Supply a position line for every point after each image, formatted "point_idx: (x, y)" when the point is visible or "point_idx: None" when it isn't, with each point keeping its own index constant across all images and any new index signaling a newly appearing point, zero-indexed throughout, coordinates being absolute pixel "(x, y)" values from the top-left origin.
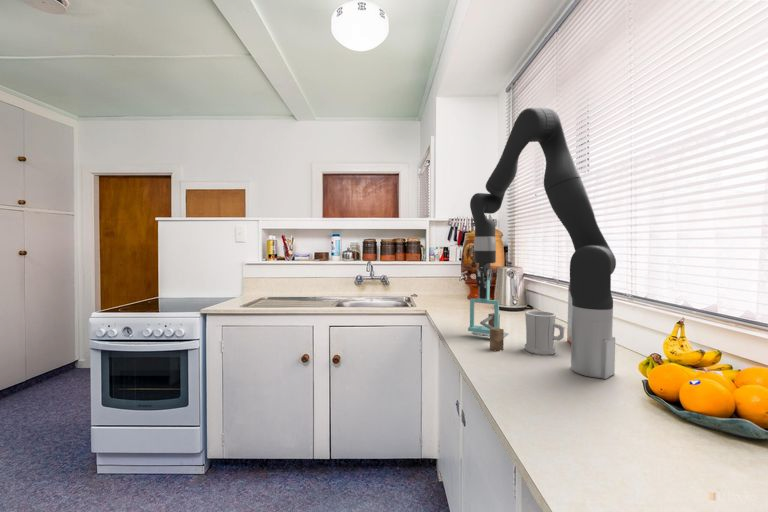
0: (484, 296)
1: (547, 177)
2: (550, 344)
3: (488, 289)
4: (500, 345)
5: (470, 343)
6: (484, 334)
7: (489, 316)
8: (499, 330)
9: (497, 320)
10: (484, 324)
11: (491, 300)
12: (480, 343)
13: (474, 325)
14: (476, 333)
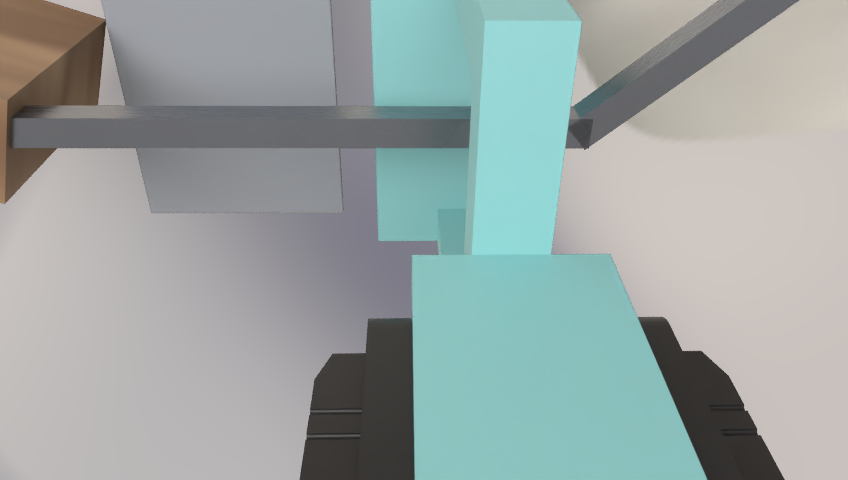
0: (673, 360)
1: None
2: None
3: (560, 459)
4: None
5: (719, 102)
6: (326, 84)
7: (21, 172)
8: None
9: None
10: (706, 60)
11: (535, 187)
12: (683, 18)
13: (387, 218)
14: (335, 164)
